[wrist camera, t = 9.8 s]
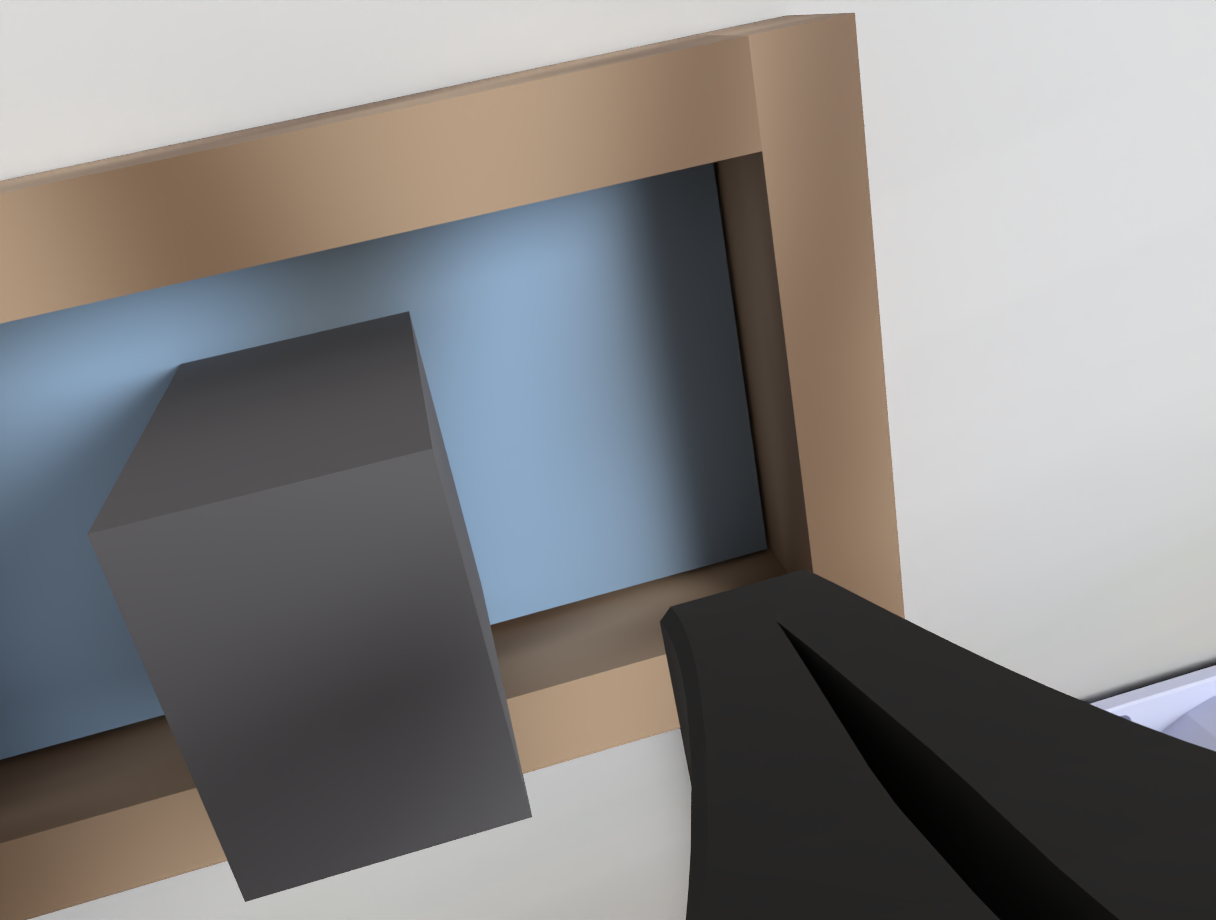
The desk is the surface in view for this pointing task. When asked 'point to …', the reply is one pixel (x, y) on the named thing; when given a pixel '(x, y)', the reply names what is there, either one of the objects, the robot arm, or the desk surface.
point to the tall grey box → (313, 607)
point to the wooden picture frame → (458, 387)
